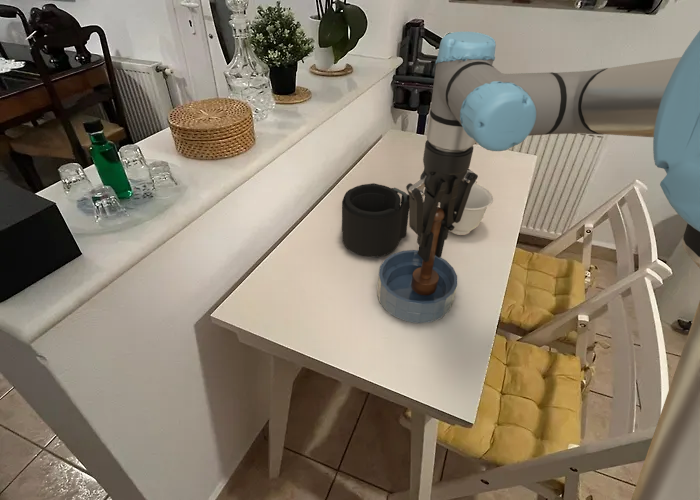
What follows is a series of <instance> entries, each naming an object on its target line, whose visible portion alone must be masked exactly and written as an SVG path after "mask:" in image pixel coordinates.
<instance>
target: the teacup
mask: <svg viewBox="0 0 700 500" xmlns="http://www.w3.org/2000/svg"><path fill="white" fill-rule="evenodd" d="M493 202H494V197H493V195H492V193H491V191H490V190H489V189H487V188H486V187H484V186H483V185H481V184H479V183H477V180H476V181H475V183H474V184H473V186H472V188H471V191H470V194H469V197H468V200H467V203H466V205H465V208H464V211H463V214H462V217H461V220H460V222H458V223H455V222H454V223H453V224H452V225H453V226H454V227H455V228H454V229H453V230H452V231H450V230H449V232H450V233H452V234H454V235H458V236H466V235H468V234H470V233H471V231H473V230H475V229H476V228H477V227H479V225H480V224H481V222H482V220H483V218H484V215H485V214H486V211H487V208H488V207H490V206H491V205H492V204H493ZM455 214H456V212H455Z"/></svg>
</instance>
